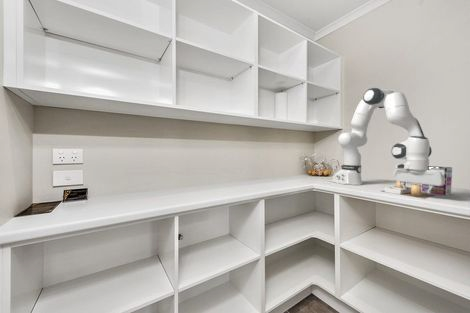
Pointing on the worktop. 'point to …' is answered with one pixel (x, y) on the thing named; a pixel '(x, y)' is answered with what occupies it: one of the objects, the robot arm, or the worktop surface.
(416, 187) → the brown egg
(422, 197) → the assembly board
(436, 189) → the candy bar box
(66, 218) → the worktop surface
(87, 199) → the worktop surface
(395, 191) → the housing
